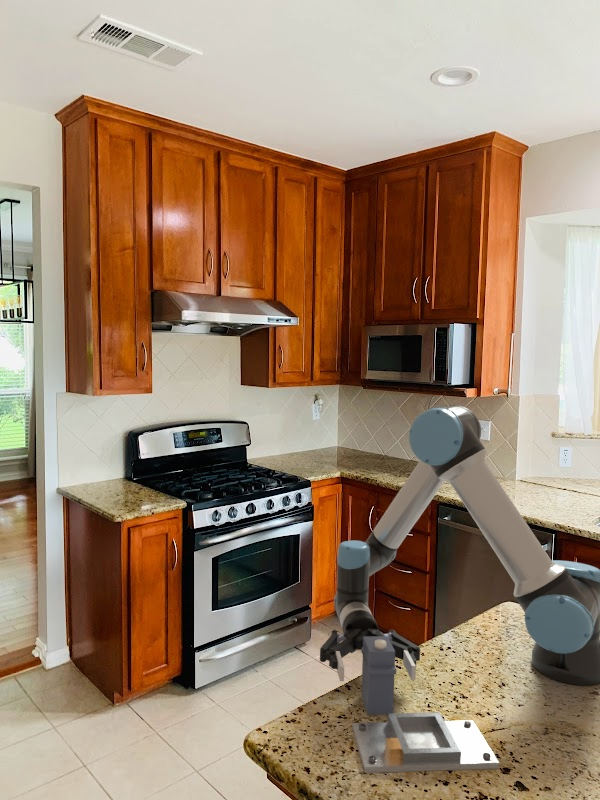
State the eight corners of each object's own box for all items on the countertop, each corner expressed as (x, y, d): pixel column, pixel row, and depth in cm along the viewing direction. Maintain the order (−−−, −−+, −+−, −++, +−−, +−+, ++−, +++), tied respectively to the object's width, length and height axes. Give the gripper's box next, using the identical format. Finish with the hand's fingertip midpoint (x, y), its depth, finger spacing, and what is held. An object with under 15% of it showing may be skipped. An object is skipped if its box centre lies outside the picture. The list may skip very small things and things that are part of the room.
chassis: (472, 725, 113) (473, 710, 112) (498, 768, 101) (499, 751, 100) (352, 728, 111) (352, 713, 111) (364, 772, 99) (365, 755, 99)
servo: (384, 692, 123) (386, 628, 123) (394, 718, 114) (397, 649, 114) (360, 692, 123) (362, 628, 122) (369, 719, 114) (371, 650, 113)
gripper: (413, 641, 139) (442, 691, 118) (302, 643, 137) (311, 694, 116) (414, 608, 139) (443, 653, 117) (303, 609, 137) (312, 655, 116)
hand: (378, 673), depth 117 cm, fingers open, 13 cm apart
